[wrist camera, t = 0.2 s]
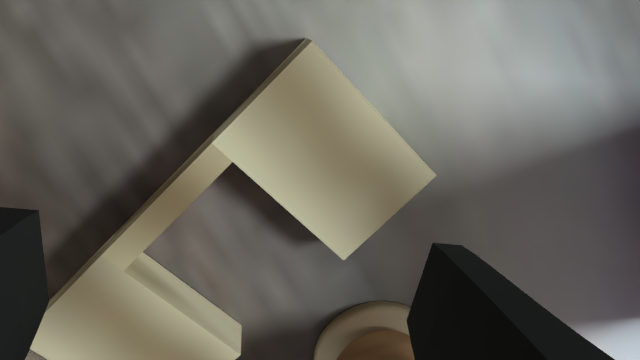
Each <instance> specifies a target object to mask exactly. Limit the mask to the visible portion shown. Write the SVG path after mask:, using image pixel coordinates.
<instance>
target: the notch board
mask: <svg viewBox="0 0 640 360" xmlns="http://www.w3.org/2000/svg"><path fill="white" fill-rule="evenodd" d="M232 162H233V163H235V164H236V165H237V166H238V167H239V168H240V169H241V170H242V171H244V172H245V173H246V174H247V175H248V176H249V177H250V178H251V179H253V180H254V181H255V182H256V183H257V184H258V185H259V186H260V187H262V188H263V189H264V190H265V191H266V192H267V193H268V194H269V195H271V196H272V197H273V198H274V199H275V200H276V201H277V202H278V203H280V204H281V205H282V206H283V207H284V208H285V209H286V210H287V211H289V212H290V213H291V214H292V215H293V216H294V217H295V218H296V219H298V220H299V221H300V222H301V223H302V224H303V225H304V226H305V227H307V228H308V229H309V230H310V231H311V232H312V233H313V234H314V235H316V236H317V237H318V238H319V239H320V240H321V241H322V242H323V243H325V244H326V245H327V246H328V247H329V248H330V249H331V250H332V251H334V252H335V253H336V254H337V255H338V256H339V257H340V258H341V259H343V260H345V259H346V258H347V257H348V256H349V255H350V254H351V253H353V252H354V251H355V250H356V249H357V248H358V247H359V246H360V245H361V244H362V243H364V242H365V241H366V240H367V239H368V238H369V237H370V236H371V235H372V234H373V233H374V232H376V231H377V230H378V229H379V228H380V227H381V226H382V225H383V224H384V223H385V222H386V221H388V220H389V219H390V218H391V217H392V216H393V215H394V214H395V213H396V212H397V211H398V210H400V209H401V208H402V207H403V206H404V205H405V204H406V203H407V202H408V201H409V200H411V199H412V198H413V197H414V196H415V195H416V194H417V193H418V192H419V191H420V190H421V189H423V188H424V187H425V186H426V185H427V184H428V183H429V182H430V181H431V180H432V179H433V178H435V177H436V176H437V175H436V174H435V173H434V172H433V171H432V170H431V169H430V168H429V167H428V165H427V164H426V163H425V162H424V161H423V160H422V159H421V158H420V157H419V156H418V155H417V154H416V152H415V151H414V150H413V149H412V148H411V147H410V146H409V145H408V144H407V143H406V142H405V141H404V139H403V138H402V137H401V136H400V135H399V134H398V133H397V132H396V131H395V130H394V129H393V128H392V126H391V125H390V124H389V123H388V122H387V121H386V120H385V119H384V118H383V117H382V116H381V115H380V113H379V112H378V111H377V110H376V109H375V108H374V107H373V106H372V105H371V104H370V103H369V102H368V101H367V99H366V98H365V97H364V96H363V95H362V94H361V93H360V92H359V91H358V90H357V89H356V88H355V86H354V85H353V84H352V83H351V82H350V81H349V80H348V79H347V78H346V77H345V76H344V75H343V73H342V72H341V71H340V70H339V69H338V68H337V67H336V66H335V65H334V64H333V63H332V62H331V60H330V59H329V58H328V57H327V56H326V55H325V54H324V53H323V52H322V51H321V50H320V49H319V47H318V46H317V45H316V44H315V43H314V42H313V41H312V40H309V39H307V38H306V39H305V40H304V41H303V42H302V43H301V44H300V45H299V46H298V47H297V48H296V49H295V50H294V51H293V52H292V53H291V54H290V55H289V56H288V57H287V58H286V59H285V60H284V61H283V62H282V63H281V64H280V65H279V66H278V67H277V68H276V69H275V70H274V71H273V72H272V73H271V74H270V75H269V76H268V77H267V78H266V79H265V80H264V81H263V82H262V84H261V85H260V86H259V87H258V88H257V89H256V90H255V91H254V92H253V93H252V94H251V95H250V96H249V97H248V98H247V99H246V100H245V101H244V102H243V103H242V104H241V105H240V106H239V107H238V108H237V109H236V110H235V111H234V112H233V113H232V114H231V115H230V116H229V117H228V118H227V119H226V120H225V121H224V122H223V123H222V124H221V125H220V126H219V127H218V128H217V129H216V130H215V131H214V133H213V134H212V135H211V136H210V137H209V138H208V139H207V140H206V141H205V142H204V143H203V144H202V145H201V146H200V147H199V148H198V149H197V150H196V151H195V152H194V153H193V154H192V155H191V156H190V157H189V158H188V159H187V160H186V161H185V162H184V163H183V164H182V165H181V166H180V167H179V168H178V169H177V170H176V171H175V172H174V173H173V174H172V175H171V176H170V177H169V178H168V179H167V180H166V182H165V183H164V184H163V185H162V186H161V187H160V188H159V189H158V190H157V191H156V192H155V193H154V194H153V195H152V196H151V197H150V198H149V199H148V200H147V201H146V202H145V203H144V204H143V205H142V206H141V207H140V208H139V209H138V210H137V211H136V212H135V213H134V214H133V215H132V216H131V217H130V218H129V219H128V220H127V221H126V222H125V223H124V224H123V225H122V226H121V227H120V228H119V229H118V231H117V232H116V233H115V234H114V235H113V236H112V237H111V238H110V239H109V240H108V241H107V242H106V243H105V244H104V245H103V246H102V247H101V248H100V249H99V250H98V251H97V252H96V253H95V254H94V255H93V256H92V257H91V258H90V259H89V260H88V261H87V262H86V263H85V264H84V265H83V266H82V267H81V268H80V269H79V270H78V271H77V272H76V273H75V274H74V275H73V276H72V277H71V278H70V280H69V281H68V282H67V283H66V284H65V285H64V286H63V287H62V288H61V289H60V290H59V291H58V292H57V293H56V294H55V295H54V296H53V297H52V298H51V299H50V300H49V303H48V306H47V308H46V311H45V313H44V316H43V318H42V321H41V323H40V326H39V328H38V331H37V333H36V335H35V338H34V340H33V342H32V345H31V347H30V349H31V350H33V351H34V352H36V353H38V354H39V355H41V356H43V357H44V358H46V359H48V360H236V359H237V358H238V357H239V356H240V355H241V332H242V325H240V324H239V323H238V322H236V321H235V320H234V319H232V318H231V317H230V316H228V315H227V314H226V313H224V312H223V311H222V310H220V309H219V308H217V307H216V306H215V305H213V304H212V303H211V302H209V301H208V300H207V299H205V298H204V297H203V296H201V295H200V294H199V293H197V292H196V291H195V290H193V289H192V288H191V287H189V286H188V285H186V284H185V283H184V282H182V281H181V280H180V279H178V278H177V277H176V276H174V275H173V274H172V273H170V272H169V271H168V270H166V269H165V268H164V267H162V266H161V265H160V264H158V263H157V262H155V261H154V260H153V259H151V258H150V257H149V256H147V255H146V254H145V253H143V251H144V250H145V249H146V248H147V247H148V246H149V245H150V244H151V243H152V242H153V241H154V240H155V239H156V238H157V237H158V236H159V235H160V234H161V233H162V232H163V231H164V230H165V229H166V228H167V227H168V226H169V225H170V224H171V223H172V222H173V221H174V220H175V219H176V218H177V217H178V216H179V215H180V214H181V213H182V212H183V211H184V210H185V209H186V208H187V207H188V206H189V205H190V204H191V203H192V202H193V201H194V200H195V199H196V198H197V197H198V196H199V195H200V194H201V193H202V192H203V191H204V190H205V189H206V188H207V187H208V186H209V185H210V184H211V183H212V182H213V181H214V180H215V179H216V178H217V177H218V176H219V175H220V174H221V173H222V172H223V171H224V170H225V169H226V168H227V167H228V166H229V165H230V164H231V163H232Z"/></svg>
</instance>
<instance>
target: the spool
mask: <svg viewBox="0 0 640 360" xmlns="http://www.w3.org/2000/svg"><path fill="white" fill-rule="evenodd" d="M410 309H411V308H410V307H408V306H405V305H403V304H400V303H396V302H390V301H373V302H367V303H363V304H359V305H357V306H354V307H352V308H349V309H347V310H345V311H344V312H342V313H341V314H339V315H338V316H337V317H335V318H334V319H333V320H332V321H331V322H330V323H329V324H328V325H327V326H326V327H325V329H324V330H323V331H322V333H321V334H320V336H319V338H318V340H317V343H316V346H315V350H314V357H313V359H314V360H415V358H414V354H413V350H412V345H411V340H410V335H409V331H408V326H407V321H406V320H407V317H408V314H409V312H410Z"/></svg>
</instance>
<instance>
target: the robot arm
mask: <svg viewBox="0 0 640 360" xmlns="http://www.w3.org/2000/svg"><path fill="white" fill-rule="evenodd" d="M48 303H49V298H48V289H47V281H46V272H45V263H44V254H43V245H42V237H41V228H40V219H39V210H27V209H15V208H3V207H0V360H25V358H26V356H27V354H28V352H29V349H30V347H31V345H32V342H33V340H34V338H35V335H36V333H37V331H38V328H39V326H40V323H41V321H42V318H43V316H44V313H45V311H46V308H47V306H48ZM406 321H407V326H408V331H409V335H410V340H411V345H412V350H413V354H414V358H415V360H614V359H613V358H612V357H610V356H609V355H607V354H606V353H605V352H603V351H602V350H600V349H599V348H597V347H596V346H595V345H593V344H592V343H590V342H589V341H588V340H586V339H585V338H583V337H582V336H581V335H579V334H578V333H577V332H575V331H574V330H573V329H571V328H570V327H569V326H567V325H566V324H564V323H563V322H562V321H560V320H559V319H558V318H557V317H555V316H554V315H553V314H551V313H550V312H549V311H547V310H546V309H545V308H543V307H542V306H541V305H540V304H538V303H537V302H536V301H534V300H533V299H532V298H531V297H529V296H528V295H527V294H526V293H524V292H523V291H522V290H520V289H519V288H518V287H517V286H515V285H514V284H513V283H511V282H510V281H509V280H508V279H506V278H505V277H504V276H503V275H501V274H500V273H499V272H497V271H496V270H495V269H494V268H492V267H491V266H490V265H488V264H487V263H486V262H484V261H483V260H482V259H480V258H479V257H478V256H476V255H475V254H474V253H472V252H471V251H469V250H468V249H466V248H465V247H463V246H461V245H450V244H438V243H433V244H432V247H431V250H430V253H429V256H428V259H427V261H426V264H425V267H424V270H423V273H422V276H421V279H420V282H419V285H418V288H417V291H416V294H415V297H414V300H413V303H412V306H411V309H410V312H409V314H408V317H407V320H406Z"/></svg>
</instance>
